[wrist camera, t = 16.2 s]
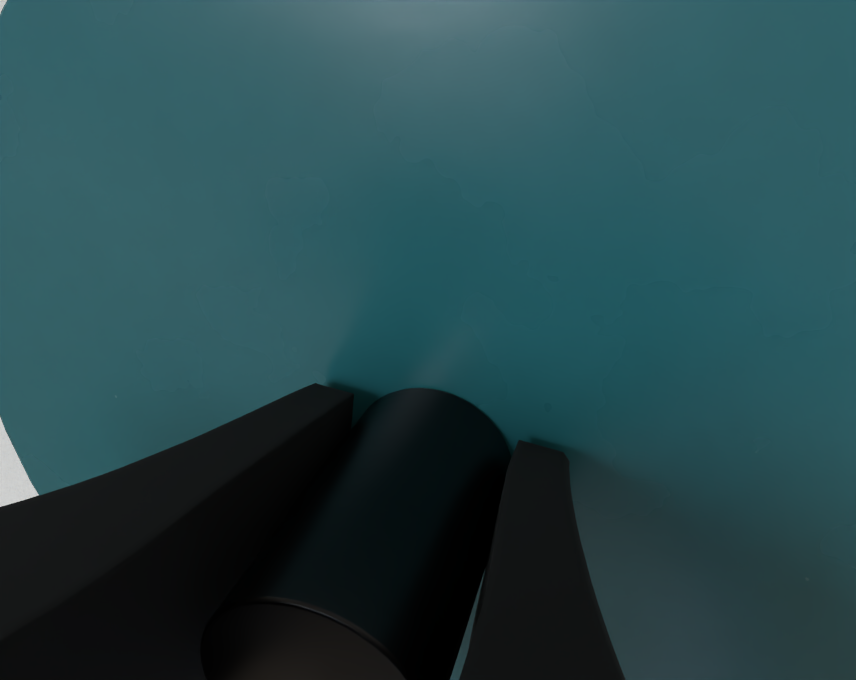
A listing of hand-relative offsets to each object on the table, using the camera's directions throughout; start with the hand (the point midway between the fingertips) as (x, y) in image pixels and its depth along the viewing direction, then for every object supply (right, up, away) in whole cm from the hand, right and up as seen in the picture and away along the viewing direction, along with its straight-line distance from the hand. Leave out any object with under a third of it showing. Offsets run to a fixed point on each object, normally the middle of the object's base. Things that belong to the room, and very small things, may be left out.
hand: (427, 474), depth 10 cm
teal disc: (0, 0, +1) cm, 1 cm away
